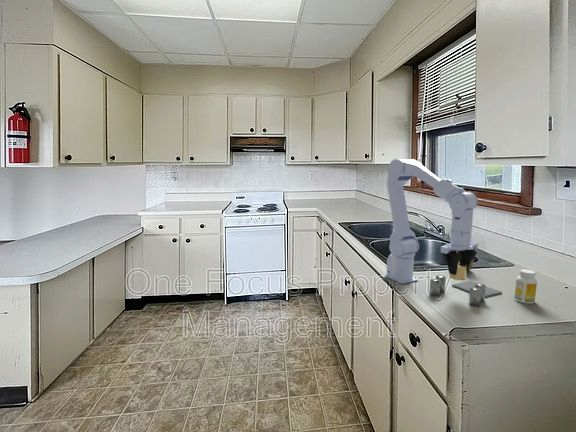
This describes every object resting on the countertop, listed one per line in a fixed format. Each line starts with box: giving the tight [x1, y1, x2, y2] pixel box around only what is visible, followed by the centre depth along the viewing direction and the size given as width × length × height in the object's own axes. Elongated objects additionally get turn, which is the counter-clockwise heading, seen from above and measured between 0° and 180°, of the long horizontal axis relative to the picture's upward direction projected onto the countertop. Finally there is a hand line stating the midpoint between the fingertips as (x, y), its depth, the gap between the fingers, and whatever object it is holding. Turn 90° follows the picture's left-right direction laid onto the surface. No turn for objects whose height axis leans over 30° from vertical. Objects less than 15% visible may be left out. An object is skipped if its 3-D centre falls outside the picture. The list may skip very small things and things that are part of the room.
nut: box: [449, 263, 468, 281], centre depth 112 cm, size 5×4×4 cm
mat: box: [451, 280, 503, 298], centre depth 120 cm, size 12×9×1 cm
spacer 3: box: [468, 287, 481, 308], centre depth 107 cm, size 3×3×5 cm
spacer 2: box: [435, 274, 447, 293], centre depth 119 cm, size 3×3×5 cm
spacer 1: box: [429, 278, 441, 298], centre depth 115 cm, size 3×3×5 cm
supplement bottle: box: [513, 268, 538, 305], centre depth 110 cm, size 5×5×10 cm
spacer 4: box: [475, 282, 487, 303], centre depth 111 cm, size 3×3×5 cm
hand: (458, 272), depth 112 cm, fingers closed on nut, 4 cm apart
